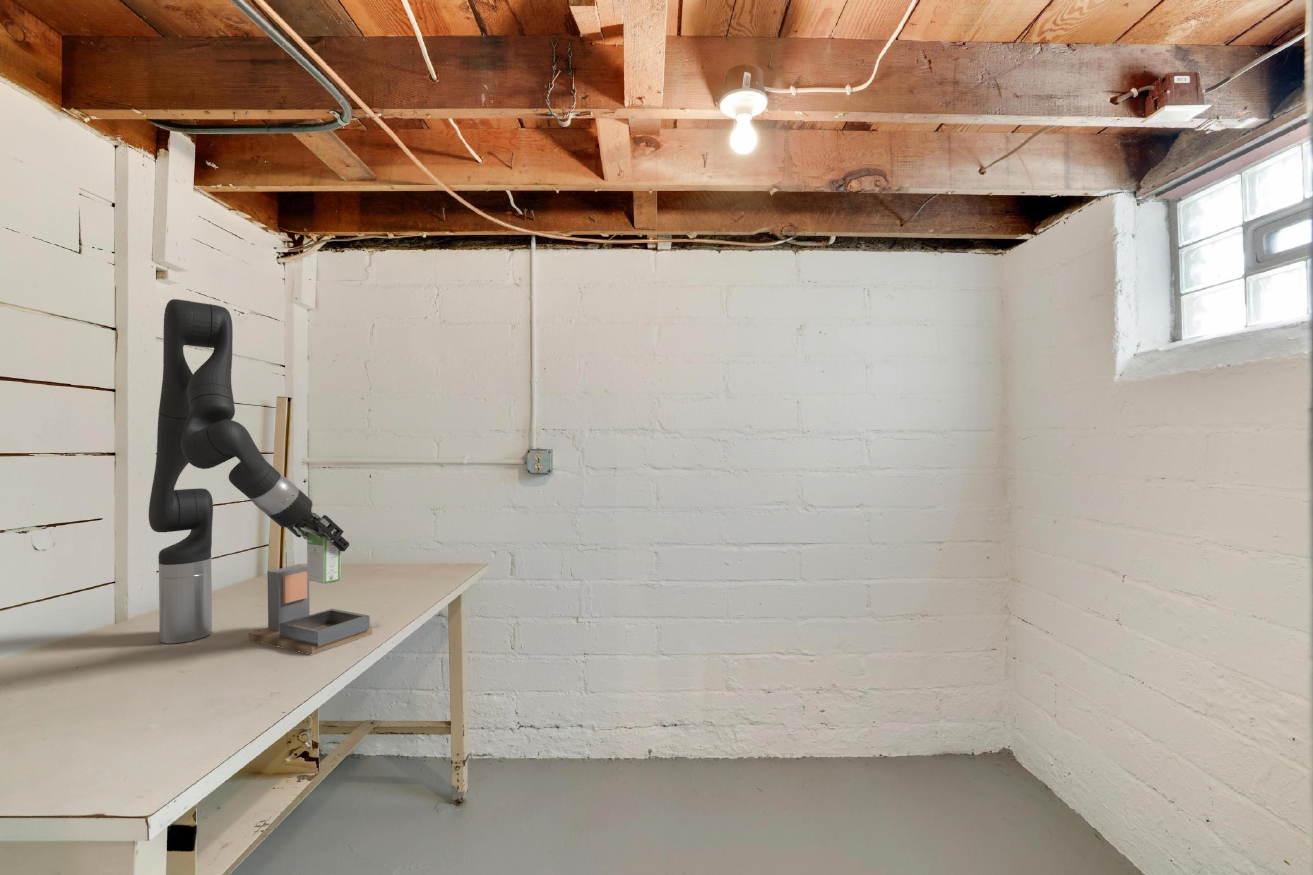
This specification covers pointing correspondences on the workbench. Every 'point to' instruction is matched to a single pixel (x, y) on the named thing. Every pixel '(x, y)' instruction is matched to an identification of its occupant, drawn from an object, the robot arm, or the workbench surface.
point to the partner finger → (287, 595)
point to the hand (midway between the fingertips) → (334, 546)
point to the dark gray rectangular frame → (307, 634)
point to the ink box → (322, 560)
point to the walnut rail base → (274, 639)
